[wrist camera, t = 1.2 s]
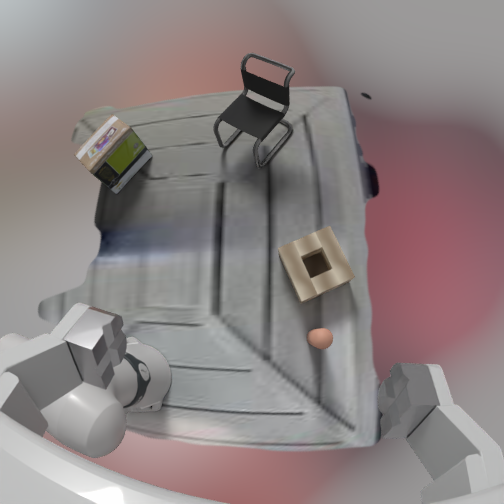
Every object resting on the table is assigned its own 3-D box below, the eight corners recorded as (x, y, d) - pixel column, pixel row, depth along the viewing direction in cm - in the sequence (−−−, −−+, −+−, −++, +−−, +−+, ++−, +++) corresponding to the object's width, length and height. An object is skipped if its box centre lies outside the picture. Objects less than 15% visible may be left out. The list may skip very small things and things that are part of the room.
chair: (297, 127, 79) (297, 68, 58) (259, 173, 77) (249, 118, 55) (258, 108, 82) (249, 50, 61) (219, 150, 80) (199, 95, 58)
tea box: (134, 141, 84) (112, 112, 70) (153, 156, 82) (131, 126, 68) (99, 178, 82) (72, 153, 68) (116, 195, 80) (89, 171, 66)
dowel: (310, 348, 65) (316, 352, 50) (304, 333, 66) (308, 333, 51) (325, 341, 65) (336, 343, 50) (319, 326, 66) (328, 324, 51)
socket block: (300, 304, 67) (301, 301, 62) (278, 255, 71) (277, 248, 65) (349, 281, 67) (354, 277, 62) (326, 234, 71) (329, 225, 65)
